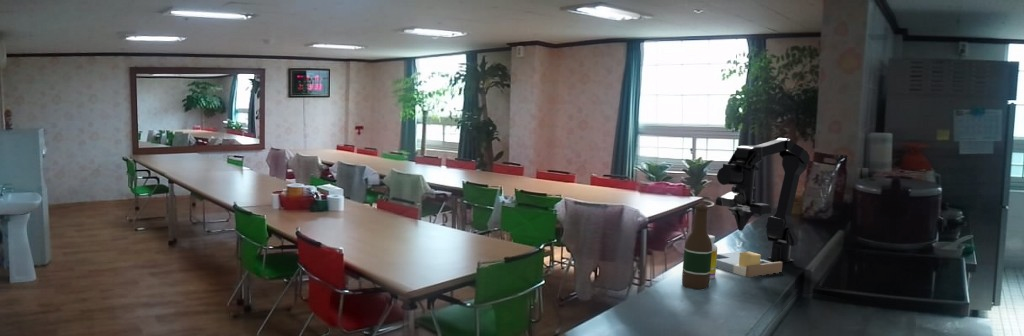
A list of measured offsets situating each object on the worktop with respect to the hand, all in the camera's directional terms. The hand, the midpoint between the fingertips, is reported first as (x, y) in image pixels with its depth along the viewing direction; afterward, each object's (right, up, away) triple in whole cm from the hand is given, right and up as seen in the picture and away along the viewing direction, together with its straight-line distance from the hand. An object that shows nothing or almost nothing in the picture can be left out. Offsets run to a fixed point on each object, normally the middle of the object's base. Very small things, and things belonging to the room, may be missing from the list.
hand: (740, 230), depth 220 cm
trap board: (0, -12, -1) cm, 12 cm away
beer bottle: (-23, -14, -27) cm, 38 cm away
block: (0, -11, -9) cm, 14 cm away
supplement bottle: (-17, -13, -15) cm, 26 cm away
